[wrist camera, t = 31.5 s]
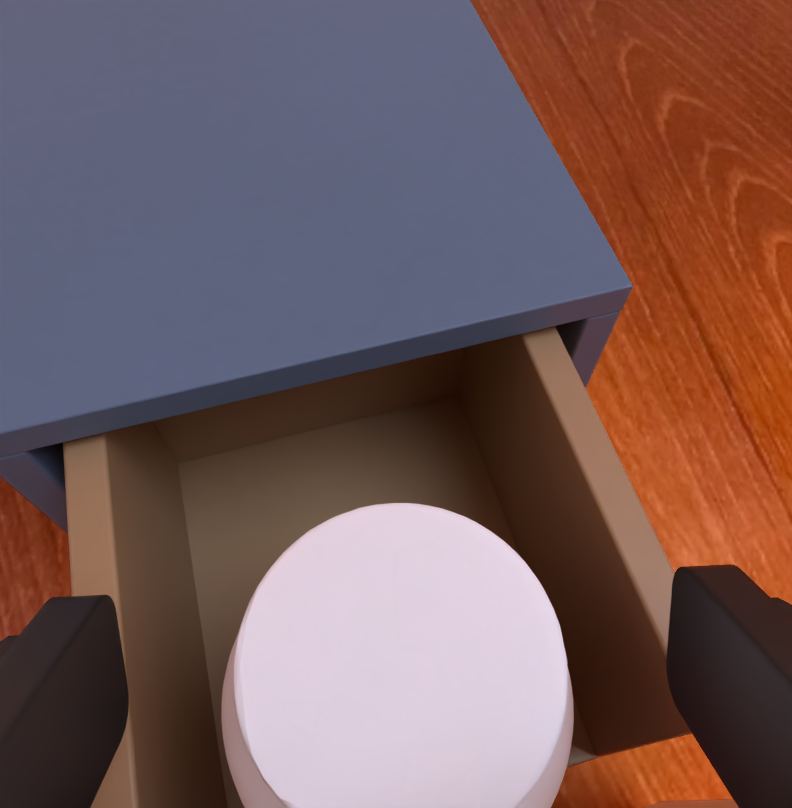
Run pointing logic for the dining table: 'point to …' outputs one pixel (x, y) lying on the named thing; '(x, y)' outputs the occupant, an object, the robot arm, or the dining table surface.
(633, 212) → the dining table surface
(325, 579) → the pill bottle
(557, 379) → the drawer
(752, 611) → the robot arm
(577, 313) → the cabinet
